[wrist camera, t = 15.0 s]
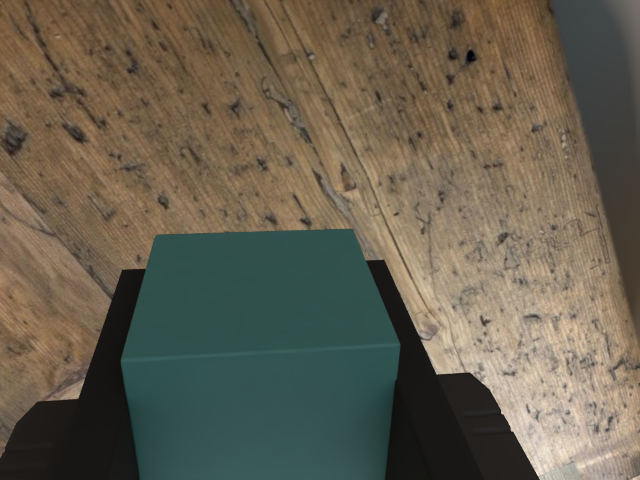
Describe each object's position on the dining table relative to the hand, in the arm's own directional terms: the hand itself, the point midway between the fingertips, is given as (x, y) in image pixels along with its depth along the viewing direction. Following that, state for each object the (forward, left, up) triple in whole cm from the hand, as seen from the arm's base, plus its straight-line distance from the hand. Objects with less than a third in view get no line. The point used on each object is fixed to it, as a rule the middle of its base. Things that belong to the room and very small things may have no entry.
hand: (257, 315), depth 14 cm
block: (0, 0, 0) cm, 0 cm away
